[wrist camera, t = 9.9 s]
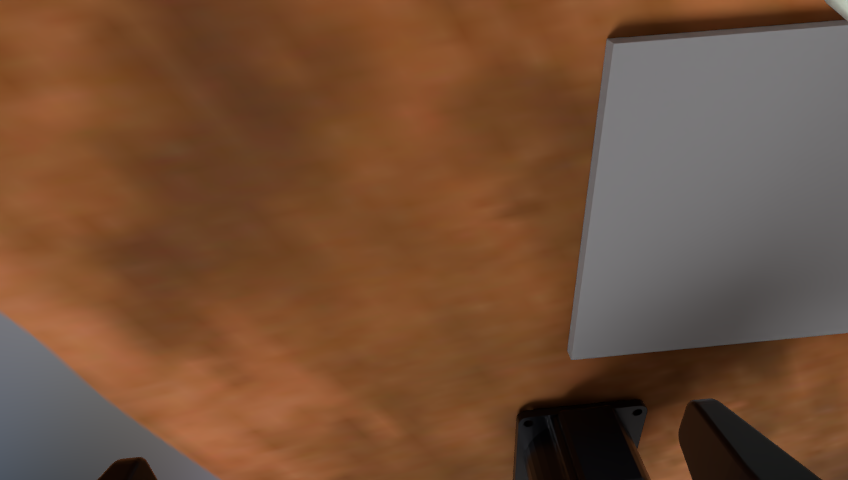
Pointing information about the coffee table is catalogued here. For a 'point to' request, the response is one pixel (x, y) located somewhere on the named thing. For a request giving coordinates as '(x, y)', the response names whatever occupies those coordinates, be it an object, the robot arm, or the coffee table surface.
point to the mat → (716, 192)
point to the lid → (839, 7)
